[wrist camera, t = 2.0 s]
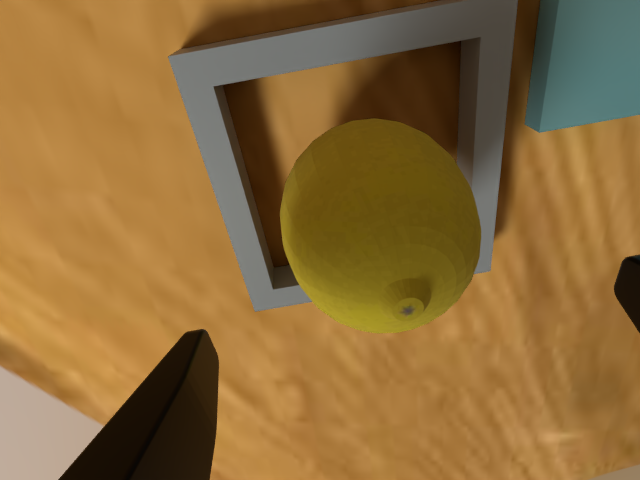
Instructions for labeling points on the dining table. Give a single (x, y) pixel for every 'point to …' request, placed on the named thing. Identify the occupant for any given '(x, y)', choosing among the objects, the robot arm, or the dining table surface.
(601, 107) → the tile
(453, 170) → the lemon
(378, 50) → the holder
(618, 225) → the dining table surface
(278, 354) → the dining table surface
